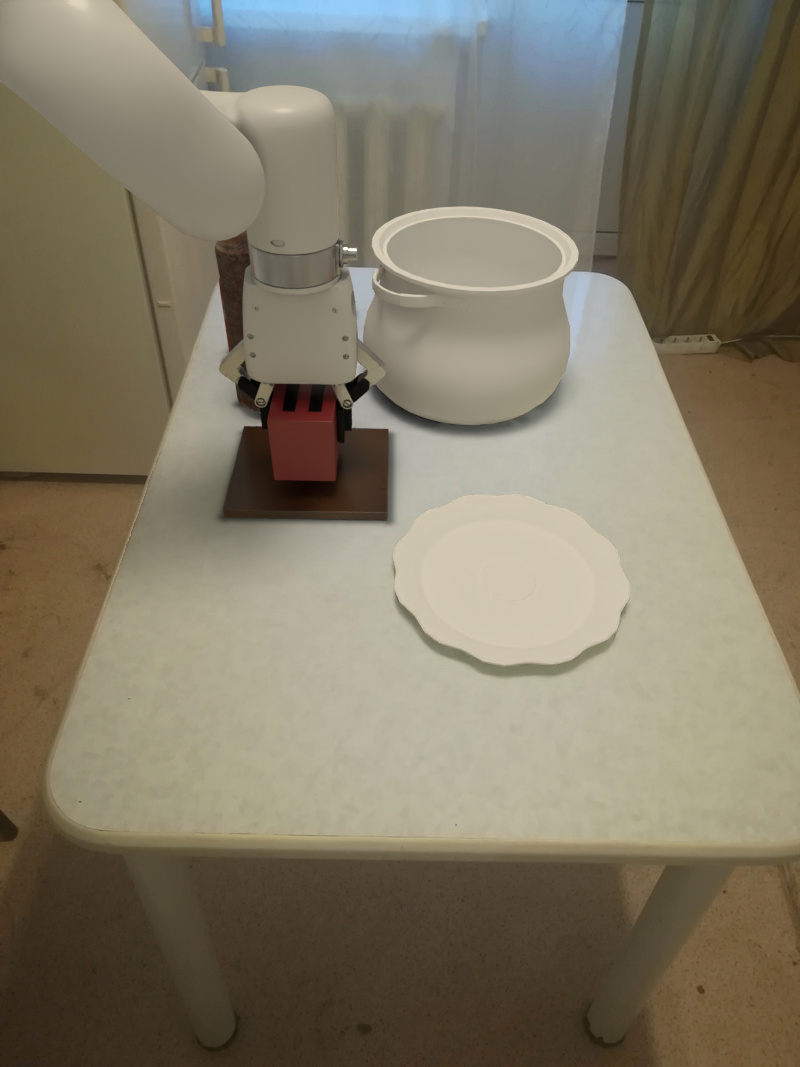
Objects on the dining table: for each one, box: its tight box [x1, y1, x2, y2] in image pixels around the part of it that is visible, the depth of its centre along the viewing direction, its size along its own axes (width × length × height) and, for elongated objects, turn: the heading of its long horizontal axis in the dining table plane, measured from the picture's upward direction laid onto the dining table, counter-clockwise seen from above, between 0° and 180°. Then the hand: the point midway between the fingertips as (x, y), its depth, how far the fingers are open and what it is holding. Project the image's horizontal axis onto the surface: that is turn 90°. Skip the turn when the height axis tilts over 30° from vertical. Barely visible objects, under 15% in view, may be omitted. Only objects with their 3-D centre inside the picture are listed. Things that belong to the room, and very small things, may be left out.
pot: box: [362, 206, 580, 426], centre depth 87 cm, size 26×24×17 cm
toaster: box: [267, 384, 339, 481], centre depth 75 cm, size 6×11×7 cm, turn 0°
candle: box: [214, 231, 275, 413], centre depth 81 cm, size 8×7×20 cm
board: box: [222, 425, 390, 521], centre depth 78 cm, size 16×14×1 cm
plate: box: [391, 493, 631, 667], centre depth 68 cm, size 21×21×2 cm
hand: (308, 432), depth 75 cm, fingers closed on toaster, 6 cm apart
